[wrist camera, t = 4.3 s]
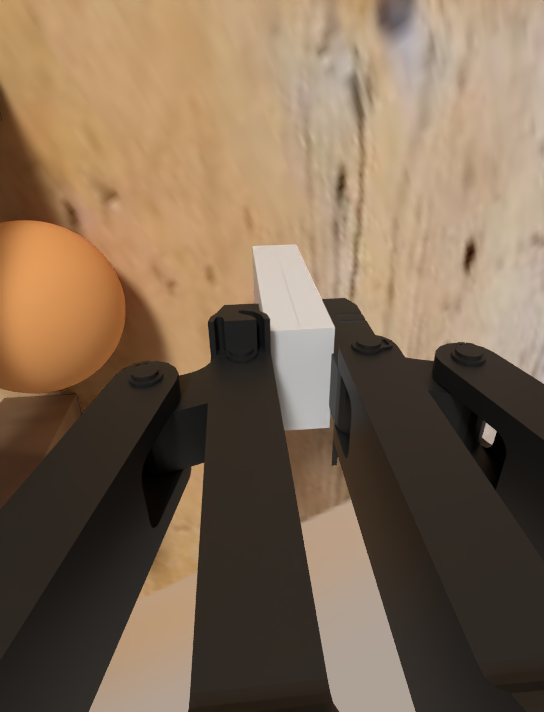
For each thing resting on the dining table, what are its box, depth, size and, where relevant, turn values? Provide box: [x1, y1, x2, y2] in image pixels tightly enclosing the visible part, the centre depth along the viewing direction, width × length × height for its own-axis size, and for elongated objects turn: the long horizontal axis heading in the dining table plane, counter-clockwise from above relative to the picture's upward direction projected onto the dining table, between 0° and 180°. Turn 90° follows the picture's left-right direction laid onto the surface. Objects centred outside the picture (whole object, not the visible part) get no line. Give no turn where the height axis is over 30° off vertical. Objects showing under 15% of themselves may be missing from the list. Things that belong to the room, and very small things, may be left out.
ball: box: [0, 220, 126, 393], centre depth 15 cm, size 6×6×6 cm
